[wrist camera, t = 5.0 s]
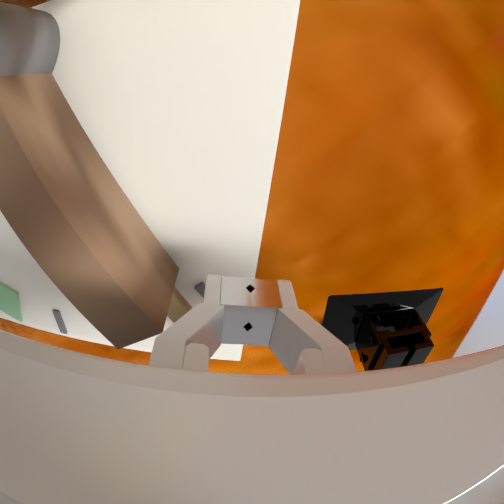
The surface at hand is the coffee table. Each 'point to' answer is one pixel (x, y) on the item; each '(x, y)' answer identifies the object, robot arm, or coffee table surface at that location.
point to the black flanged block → (384, 326)
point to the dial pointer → (74, 195)
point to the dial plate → (169, 137)
